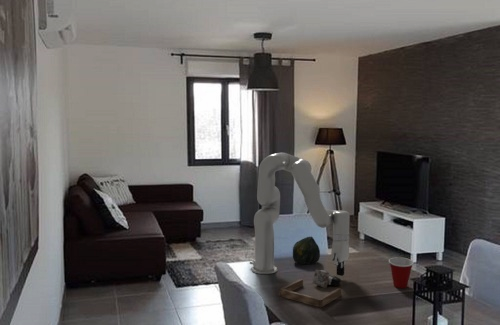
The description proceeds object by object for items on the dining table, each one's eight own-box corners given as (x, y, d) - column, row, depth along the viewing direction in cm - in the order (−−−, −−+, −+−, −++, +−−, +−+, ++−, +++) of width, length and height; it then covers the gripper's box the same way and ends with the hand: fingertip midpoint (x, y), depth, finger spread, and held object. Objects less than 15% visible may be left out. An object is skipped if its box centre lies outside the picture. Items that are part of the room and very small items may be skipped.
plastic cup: (386, 288, 207) (387, 262, 206) (389, 281, 217) (389, 256, 216) (412, 292, 203) (413, 265, 202) (413, 284, 213) (414, 258, 212)
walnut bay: (279, 296, 198) (279, 289, 197) (300, 285, 211) (300, 278, 211) (320, 307, 185) (321, 300, 185) (341, 295, 198) (341, 288, 198)
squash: (282, 251, 248) (297, 233, 240) (301, 247, 258) (315, 230, 250) (297, 273, 241) (312, 256, 233) (315, 268, 251) (331, 251, 243)
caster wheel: (339, 288, 215) (335, 292, 205) (316, 280, 219) (311, 283, 210) (343, 274, 215) (339, 277, 205) (320, 266, 219) (315, 269, 209)
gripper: (341, 233, 226) (340, 269, 228) (326, 238, 214) (325, 277, 216) (355, 235, 222) (354, 272, 223) (340, 241, 210) (340, 280, 211)
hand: (340, 274), depth 219 cm, fingers closed
